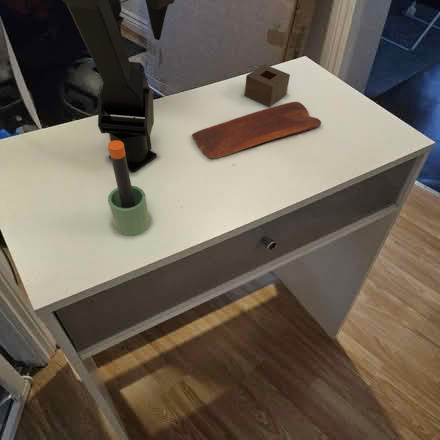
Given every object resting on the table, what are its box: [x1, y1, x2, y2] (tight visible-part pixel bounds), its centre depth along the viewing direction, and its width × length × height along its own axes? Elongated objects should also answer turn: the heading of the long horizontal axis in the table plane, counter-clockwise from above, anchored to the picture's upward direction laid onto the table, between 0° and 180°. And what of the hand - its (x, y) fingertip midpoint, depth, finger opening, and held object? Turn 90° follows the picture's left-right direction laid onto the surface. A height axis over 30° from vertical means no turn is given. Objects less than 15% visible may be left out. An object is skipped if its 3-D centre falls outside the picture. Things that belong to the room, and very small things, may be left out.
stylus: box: [107, 140, 135, 208], centre depth 58 cm, size 2×2×14 cm
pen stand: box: [244, 64, 291, 108], centre depth 86 cm, size 7×7×4 cm
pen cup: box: [107, 184, 150, 237], centre depth 62 cm, size 6×6×6 cm
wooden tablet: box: [191, 101, 322, 159], centre depth 79 cm, size 27×10×2 cm, turn 118°
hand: (139, 47), depth 71 cm, fingers open, 9 cm apart
